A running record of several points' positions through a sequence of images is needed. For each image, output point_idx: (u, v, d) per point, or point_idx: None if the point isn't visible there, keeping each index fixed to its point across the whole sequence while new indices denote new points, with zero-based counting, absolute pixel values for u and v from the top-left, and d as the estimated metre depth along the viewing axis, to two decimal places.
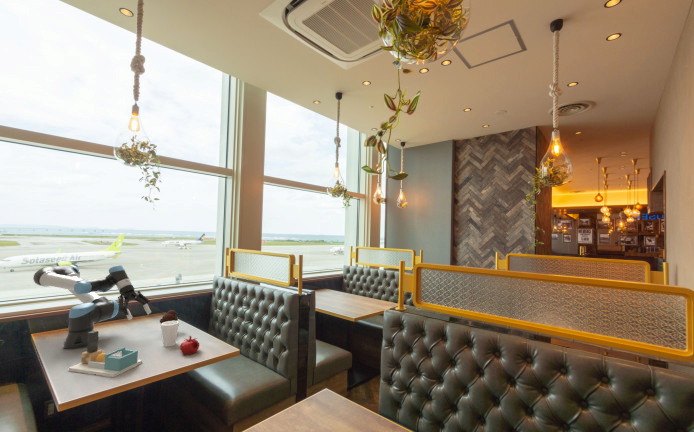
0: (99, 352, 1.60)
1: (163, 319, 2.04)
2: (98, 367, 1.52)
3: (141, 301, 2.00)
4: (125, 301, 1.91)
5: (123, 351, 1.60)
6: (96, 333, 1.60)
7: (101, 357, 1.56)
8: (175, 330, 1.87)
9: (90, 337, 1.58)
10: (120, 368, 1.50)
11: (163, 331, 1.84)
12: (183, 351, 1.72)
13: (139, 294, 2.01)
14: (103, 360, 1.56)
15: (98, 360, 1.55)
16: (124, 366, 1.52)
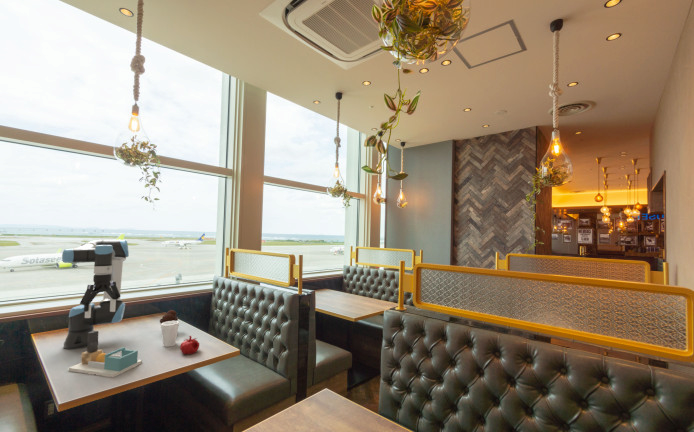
0: (99, 352, 1.60)
1: (163, 319, 2.04)
2: (98, 367, 1.52)
3: (111, 295, 1.69)
4: (93, 292, 1.59)
5: (123, 351, 1.60)
6: (96, 333, 1.60)
7: (101, 357, 1.56)
8: (175, 330, 1.87)
9: (90, 337, 1.58)
10: (120, 368, 1.50)
11: (163, 331, 1.84)
12: (183, 351, 1.72)
13: (113, 286, 1.69)
14: (103, 360, 1.56)
15: (98, 360, 1.55)
16: (124, 366, 1.52)
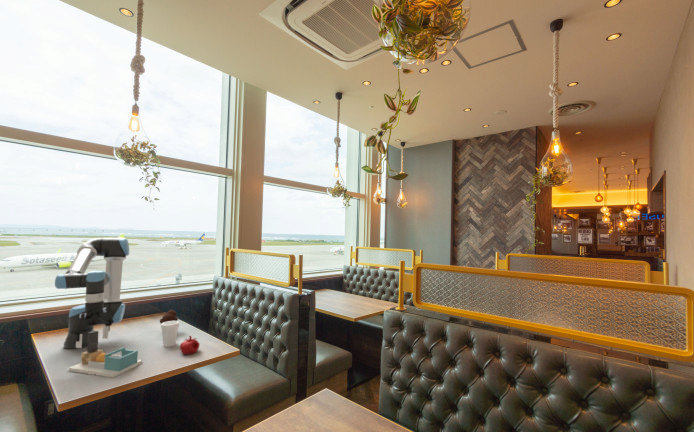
0: (99, 352, 1.60)
1: (163, 319, 2.04)
2: (98, 367, 1.52)
3: (103, 321, 1.65)
4: (84, 321, 1.56)
5: (123, 351, 1.60)
6: (96, 333, 1.60)
7: (101, 357, 1.56)
8: (175, 330, 1.87)
9: (90, 337, 1.58)
10: (120, 368, 1.50)
11: (163, 331, 1.84)
12: (183, 351, 1.72)
13: (106, 312, 1.66)
14: (103, 360, 1.56)
15: (98, 360, 1.55)
16: (124, 366, 1.52)
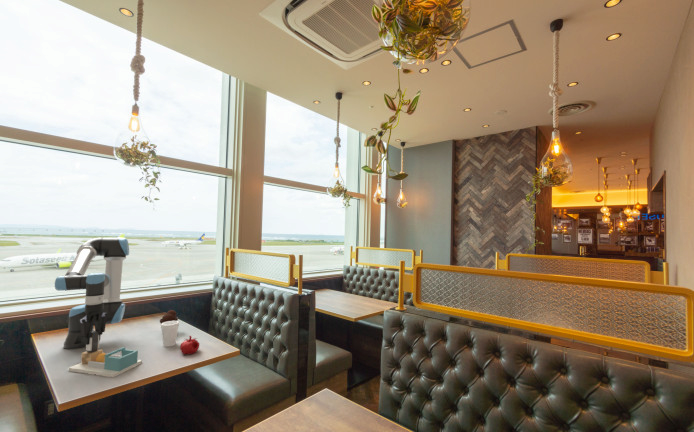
0: (99, 352, 1.60)
1: (163, 319, 2.04)
2: (98, 367, 1.52)
3: (97, 328, 1.61)
4: (88, 325, 1.57)
5: (123, 351, 1.60)
6: (96, 333, 1.60)
7: (101, 357, 1.56)
8: (175, 330, 1.87)
9: None
10: (120, 368, 1.50)
11: (163, 331, 1.84)
12: (183, 351, 1.72)
13: (104, 317, 1.64)
14: (103, 360, 1.56)
15: (98, 360, 1.55)
16: (124, 366, 1.52)
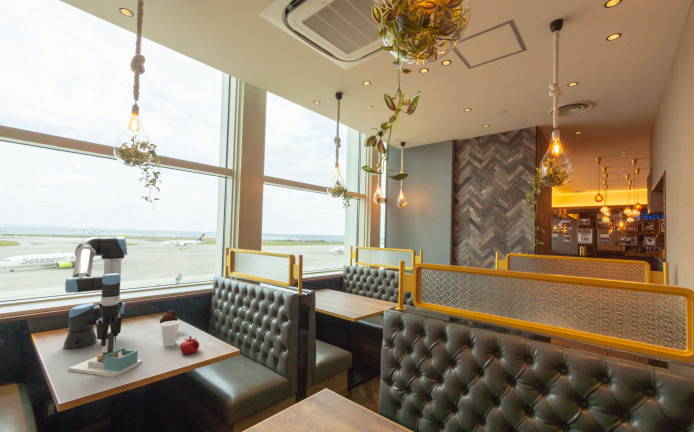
0: (115, 354, 1.58)
1: (163, 319, 2.04)
2: (98, 367, 1.52)
3: (112, 329, 1.59)
4: (104, 326, 1.55)
5: (123, 351, 1.60)
6: (112, 335, 1.58)
7: None
8: (175, 330, 1.87)
9: None
10: (120, 368, 1.50)
11: (163, 331, 1.84)
12: (183, 351, 1.72)
13: (119, 318, 1.62)
14: None
15: None
16: (124, 366, 1.52)
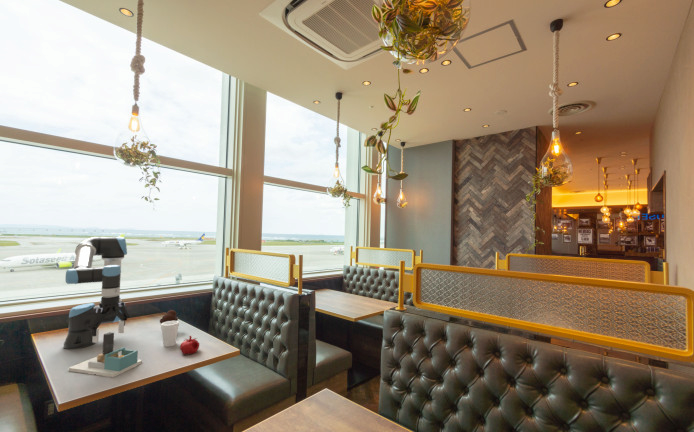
0: (115, 354, 1.58)
1: (163, 319, 2.04)
2: (98, 367, 1.52)
3: (119, 316, 1.63)
4: (101, 316, 1.54)
5: (123, 351, 1.60)
6: (112, 335, 1.58)
7: None
8: (175, 330, 1.87)
9: (106, 339, 1.56)
10: (120, 368, 1.50)
11: (163, 331, 1.84)
12: (183, 351, 1.72)
13: (121, 307, 1.64)
14: None
15: None
16: (124, 366, 1.52)
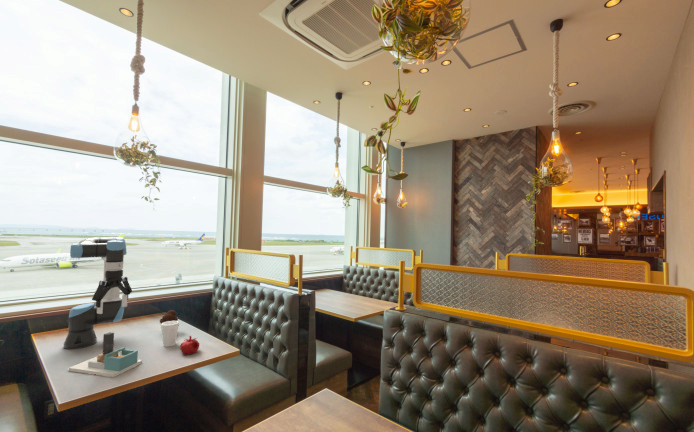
0: (115, 354, 1.58)
1: (163, 319, 2.04)
2: (98, 367, 1.52)
3: (123, 290, 1.69)
4: (105, 288, 1.59)
5: (123, 351, 1.60)
6: (112, 335, 1.58)
7: None
8: (175, 330, 1.87)
9: (106, 339, 1.56)
10: (120, 368, 1.50)
11: (163, 331, 1.84)
12: (183, 351, 1.72)
13: (125, 281, 1.69)
14: None
15: None
16: (124, 366, 1.52)
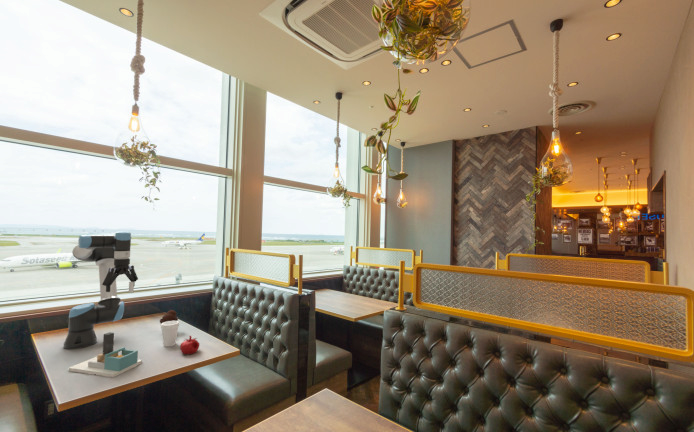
0: (115, 354, 1.58)
1: (163, 319, 2.04)
2: (98, 367, 1.52)
3: (129, 277, 1.84)
4: (114, 275, 1.75)
5: (123, 351, 1.60)
6: (112, 335, 1.58)
7: None
8: (175, 330, 1.87)
9: (106, 339, 1.56)
10: (120, 368, 1.50)
11: (163, 331, 1.84)
12: (183, 351, 1.72)
13: (131, 269, 1.85)
14: None
15: None
16: (124, 366, 1.52)
